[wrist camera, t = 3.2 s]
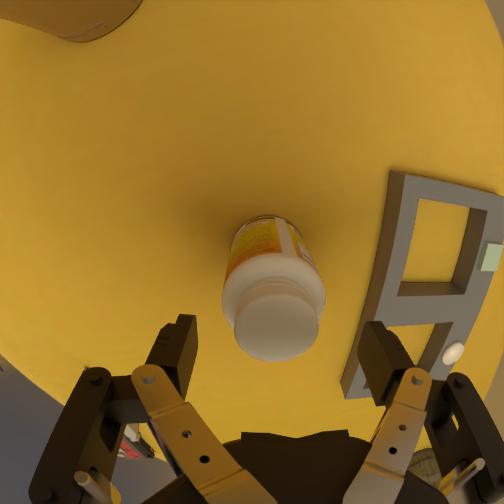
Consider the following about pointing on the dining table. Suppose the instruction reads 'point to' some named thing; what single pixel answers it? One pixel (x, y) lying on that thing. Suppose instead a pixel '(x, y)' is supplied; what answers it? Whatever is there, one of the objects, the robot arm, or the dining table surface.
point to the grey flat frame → (430, 293)
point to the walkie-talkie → (133, 445)
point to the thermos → (426, 467)
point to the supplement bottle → (272, 291)
